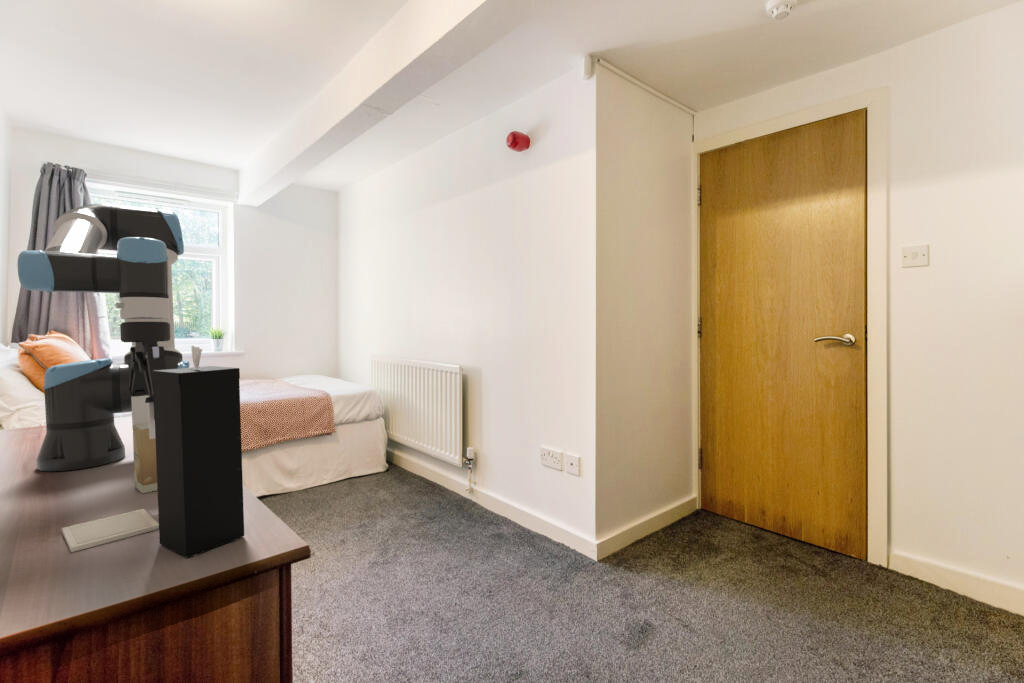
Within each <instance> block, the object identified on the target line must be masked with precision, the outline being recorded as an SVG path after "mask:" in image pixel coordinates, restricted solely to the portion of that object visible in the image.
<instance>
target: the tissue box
mask: <svg viewBox="0 0 1024 683" xmlns="http://www.w3.org/2000/svg"><path fill="white" fill-rule="evenodd" d="M190 346H191V358H192V362H193V367H189V368H179V369H166V370H153V371H152V381H153V386H154V412H155V437H156V463H157V489H158V490H157V507H158V508H157V510H158V512H157V513H158V524H159V529H158V533H159V534H158V536H159V537H158V538H159V545H160V546H162V547H164V548H167V549H168V550H171V551H172V552H174V553H176V554H178V555H180V556H182V557H184V558H186V559H187V558H190V557H193V556H197V555H199V554H202V553H205V552H207V551H210V550H212V549H215V548H218V547H220V546H222V545H225V544H228V543H231V542H234V541H237V540H239V539H240V538H242V537H245V517H244V516H245V514H244V512H245V511H244V510H245V509H244V488H243V487H244V483H243V482H244V481H243V458H242V457H243V454H242V453H243V450H242V423H241V422H242V421H241V420H242V419H241V392H240V391H241V390H240V379H241V377H240V376H241V375H240V374H241V373H240V368H238V367H228V366H214V365H213V366H212V365H210V366H208V365H206V366H200V360H201V356H202V352H203V348H200V347H197V346H194V345H190ZM236 539H237V540H236Z"/></svg>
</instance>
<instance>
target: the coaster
mask: <svg viewBox="0 0 1024 683" xmlns="http://www.w3.org/2000/svg"><path fill="white" fill-rule="evenodd" d="M157 530H159V522H157V521H156V520H155V519H154V518H153V517H152V516H151V515H150V514H149V513H148V511H146V510H145V509H144V508H141V509H136V510H133V511H128V512H124V513H119V514H115V515H111V516H107V517H104V518H99V519H94V520H89V521H86V522H82V523H77V524H73V525H70V526H69V525H68V526H66V527H65V526H64V527H61V533H62V535H63V537H64V540H65V542H66V544H67V546H68V549H69V551H70V553H75V552H77V551H81V550H85V549H88V548H89V549H90V548H93V547H97V546H100V545H104V544H108V543H110V542H111V543H112V542H115V541H119V540H123V539H127V538H129V537H133V536H138V535H141V534H144V533H148V532H153V531H157Z"/></svg>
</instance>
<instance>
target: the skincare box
mask: <svg viewBox="0 0 1024 683" xmlns="http://www.w3.org/2000/svg"><path fill="white" fill-rule="evenodd" d="M132 442H133V444H132V446H133V447H132V448H133V483H134V488H136V489H137V490H138V491H139V492H140V493H141V494H149V493H152V491H153V492H156V491H157V492H158V489H157V463H156V438H155V439H149V423H141V424H135V425H133V427H132Z"/></svg>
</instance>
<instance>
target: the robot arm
mask: <svg viewBox="0 0 1024 683" xmlns="http://www.w3.org/2000/svg"><path fill="white" fill-rule="evenodd" d="M181 227H182V226H181V223H180V219H179V216H178V215H177V214H176V213H175V212H174V211H171V210H166V209H160V208H158V207H154V208H150V207H149V208H148V207H139V206H130V205H120V204H112V203H92V204H87V205H86V204H85V205H81V206H78V207H75V208H72V209H70V210H67V211H65V212H64V213H62V214H60V215H59V217H58V218H57V219H56V220H55V222H54V225H53V233H54V235H53V237H52V238H51V240H50V241H49V243H48V244H47V246H46V248H45V249H44V250H42V249H37V250H23V251H21V252H20V253H19V255H18V257H17V276H18V280H19V283H20V285H21V287H22V288H23V289H24V290H26V291H35V292H46V293H101V294H103V293H105V294H106V293H107V294H118V295H119V296H118V297H119V302H116V303H115V308H117V309H119V318H120V319H121V320H124V322H121V324H119V328H120V331H119V332H120V341H121V342H123V343H131V346H130V348H129V351H127V353H126V354H125V355H124V358H123V360H124V361H123V363H113V362H114V361H113V360H112V359H111V358H110V357H105V358H97V359H86V360H81V361H75V362H74V361H73V362H68V363H62V364H61V363H60V364H57V365H56V364H55V365H53V366H50V367H49V368H47V369H46V370H45V372H44V377H43V378H44V379H43V380H44V383H43V386H42V389H43V390H44V391H43V392H44V407H45V408H44V410H45V427H46V428H45V430H46V433H45V435H44V438H43V440H42V445H41V447H40V449H39V451H38V455H37V458H36V470H38V471H41V472H64V471H74V470H81V469H88V468H93V467H94V468H95V467H99V466H103V465H107V464H111V463H114V462H117V461H119V460H121V459H124V458H125V457H126V448H125V444H124V442H123V440H122V438H121V436H120V434H119V432H118V429H117V427H116V425H115V424H116V423H115V414H122V413H131V422H132V428H133V425H135V424H141V423H149V439H155V438H156V437H155V412H154V386H153V381H152V371H153V370H166V369H179V368H190V361H189V360H186V359H183V353H182V352H180V351H179V349H178V350H177V349H176V348H175V347H176V345H175V344H176V343H175V324H174V323H175V322H174V321H175V319H174V301H173V275H172V274H173V272H172V265H174V264H175V263H176V262H177V261H178V260H179V259H178V258H179V256H180V255H183V254H184V253H185V249H184V247H185V246H184V239H183V231H182V228H181ZM98 250H104V251H105V250H107V251H115V252H116V254H101V253H100V254H99V253H98V254H97V252H98Z"/></svg>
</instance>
